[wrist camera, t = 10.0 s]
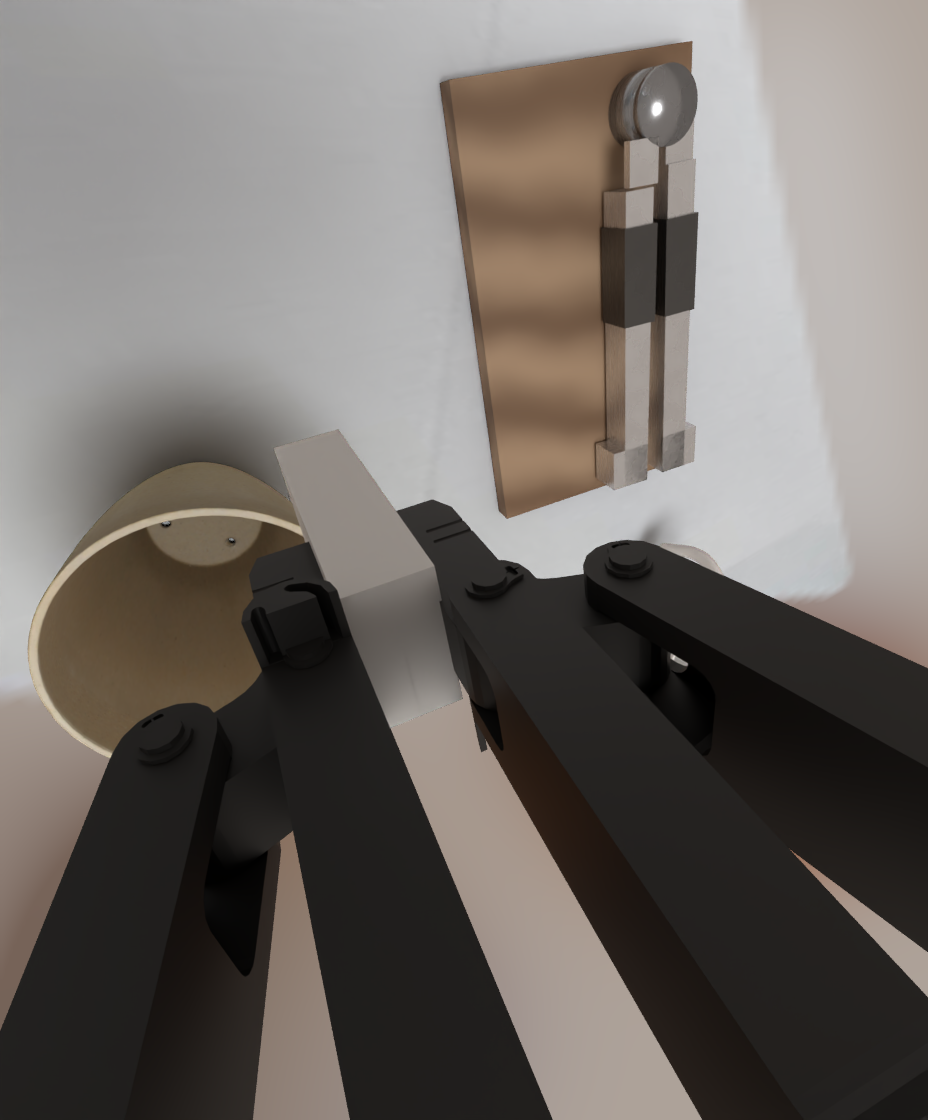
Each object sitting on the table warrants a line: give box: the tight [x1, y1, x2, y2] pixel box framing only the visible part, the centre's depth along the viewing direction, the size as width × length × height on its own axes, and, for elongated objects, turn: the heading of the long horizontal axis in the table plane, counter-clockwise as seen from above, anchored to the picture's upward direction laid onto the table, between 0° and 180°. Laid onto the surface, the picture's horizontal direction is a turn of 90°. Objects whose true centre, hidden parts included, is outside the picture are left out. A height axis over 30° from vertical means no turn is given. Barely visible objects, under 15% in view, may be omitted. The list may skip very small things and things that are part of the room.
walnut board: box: [440, 41, 692, 519], centre depth 45 cm, size 28×16×2 cm, turn 9°
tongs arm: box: [596, 62, 697, 490], centre depth 44 cm, size 26×6×3 cm, turn 8°
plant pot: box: [28, 462, 305, 758], centre depth 37 cm, size 15×15×16 cm
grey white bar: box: [608, 65, 698, 472], centre depth 45 cm, size 26×6×3 cm, turn 9°
